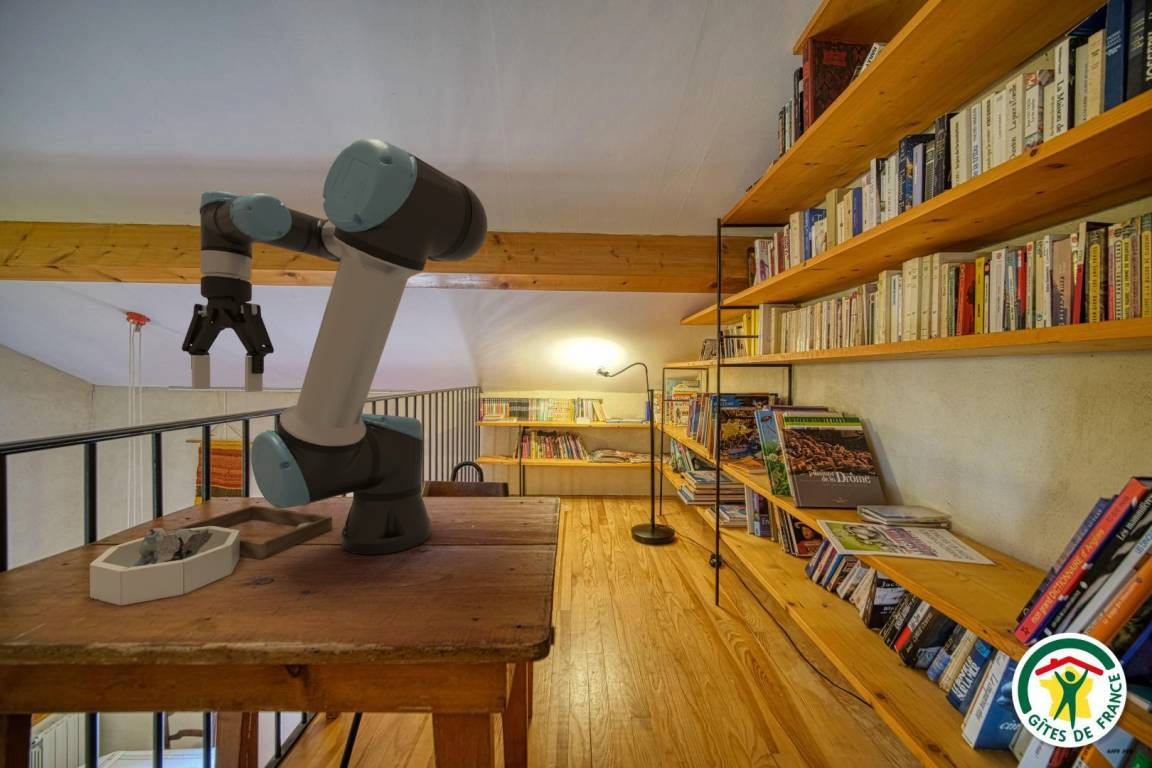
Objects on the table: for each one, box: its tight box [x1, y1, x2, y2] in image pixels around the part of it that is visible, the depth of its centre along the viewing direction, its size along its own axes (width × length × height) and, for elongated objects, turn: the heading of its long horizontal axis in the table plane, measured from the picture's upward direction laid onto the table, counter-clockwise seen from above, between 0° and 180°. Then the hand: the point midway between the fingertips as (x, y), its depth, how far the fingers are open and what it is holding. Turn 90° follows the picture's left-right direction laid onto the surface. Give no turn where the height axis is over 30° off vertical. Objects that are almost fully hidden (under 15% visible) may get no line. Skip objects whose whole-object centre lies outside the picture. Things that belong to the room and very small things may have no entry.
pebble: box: [296, 522, 313, 529], centre depth 80 cm, size 3×3×2 cm
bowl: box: [89, 526, 241, 606], centre depth 63 cm, size 15×15×4 cm
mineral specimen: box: [128, 526, 213, 568], centre depth 62 cm, size 10×8×10 cm
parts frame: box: [173, 504, 333, 560], centre depth 78 cm, size 20×14×2 cm
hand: (226, 390), depth 81 cm, fingers open, 13 cm apart
